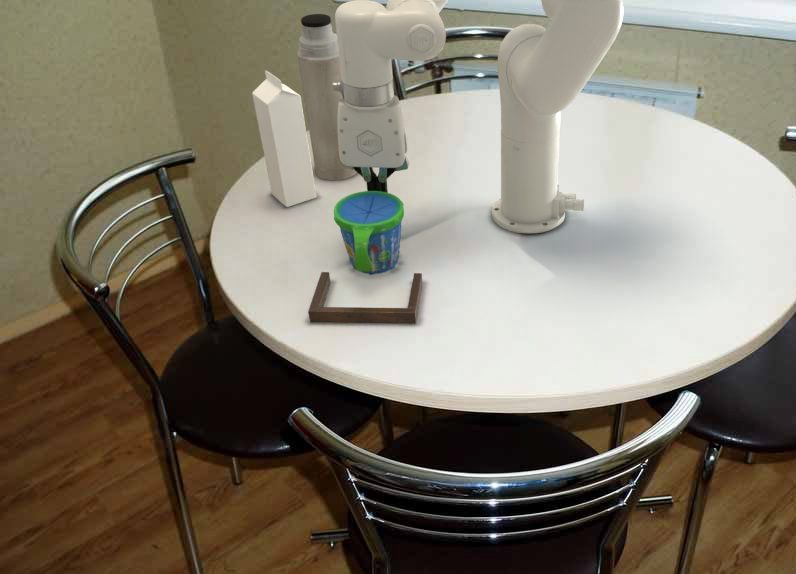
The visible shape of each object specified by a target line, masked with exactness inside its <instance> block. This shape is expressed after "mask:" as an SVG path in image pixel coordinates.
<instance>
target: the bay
mask: <svg viewBox="0 0 796 574" xmlns="http://www.w3.org/2000/svg"><path fill="white" fill-rule="evenodd" d="M331 281H332V280H331V276H330V272H329V271H321V273H320V276H319V278H318V282H317V284H316V287H315V290H314V293H313V296H312V298H311V302H310V305H309V308H308V311H307V313H308V318H309V323H318V324H319V323H321V324H322V323H323V324H328V323H329V324H333V323H334V324H395V325H396V324H399V325H416V324H417V319H418V314H419V307H420V302H421V295H422V290H423V285H424V283H423V274H422V272H414V273H413V277H412V282H411V287H410V295H409V299H408V305H407V307H361V306H360V307H353V306H349V307H348V306H347V307H346V306H324V305H325V302H326V299H327V296H328V292H329V290H330V286H331V283H332V282H331Z"/></svg>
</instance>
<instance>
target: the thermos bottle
mask: <svg viewBox="0 0 796 574" xmlns="http://www.w3.org/2000/svg"><path fill="white" fill-rule="evenodd" d="M300 22H301V25H302V35H301V36H300V37H299V39H298V42H299V44H298V47H299V49H298V51H297V54H296V55H297V56H296V57H297V63H298V68H299V75H300V81H301V82H300V83H301V88H302V94H303V100H304V106H305V113H306V118H307V125H308V133H309V137H310V144H311V151H312V157H313V163H314V169H315V174H316V175H317V177H319V178H320V179H323V180H326V181H327V180H328V181H340V180H341V181H342V180H346V179H349V178H351V177H354V176H355V175H356V174H358V173H357V172H356V171H355V170H351V169H347V168H343V167H342V166H341V161H340V157H339V147H338V103H339V100H340V99H341V98H342V95H341V92H338V91H333V82H338V81H341V79H342V78H341V69H340V59H339V50H338V42H337V33H336V32H333V26H332V24H331V23H332V17H331V16H330V15H328V14H324V13H314V14H313V13H312V14H308V15H304V16H302V17H301V19H300Z"/></svg>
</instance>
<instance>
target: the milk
mask: <svg viewBox="0 0 796 574" xmlns="http://www.w3.org/2000/svg"><path fill="white" fill-rule="evenodd" d="M264 73H265V79H264V81H262V82H261V83H260V84H259V85H258V86H257V87H256V88H255V89H254V90H253V91H252V92H251V94H252V100H253V105H254V111H255V115H256V120H257V126H258V131H259V137H260V140H261V141H260V142H261V146H262V150H263V151H262V152H263V155H264V161H265V166H266V171H267V177H268V181H269V182H268V183H269V186H270V191H271V194H272V196H273V197H274V198H275V199H277V200H278V201H279V202H280V203H281V204H282V205H283V206H284V207H285V208H289V207H291V206H295V205H298V204H300V203H304V202H307V201H311V200H313V199H316V198H317V191H316V184H315V177H314V172H313V166H312V165H313V164H312V160H311V153H310V147H309V141H308V135H307V129H306V122H305V115H304V110H303V103H302V97H301V95H300V94H299V93H297V92H296V91H294V90H293V89H292V88H290V87H289V86H288V85H286V84H284V83H282V80H281V79H280V78H278V77H276V76H275V75H274V74H272V73H271V72H269V71H268V70H266V69H265V71H264Z"/></svg>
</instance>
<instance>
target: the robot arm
mask: <svg viewBox="0 0 796 574" xmlns="http://www.w3.org/2000/svg"><path fill="white" fill-rule="evenodd" d="M448 1H449V0H387V3H386V6H384V5H383V4H382V3H380V2H378V1H373V0H351V1H347V2H344V3H341V4H340V5H339V6H338V7H337V9H336V10H335V15H334V23H335V24H334V25H335V31H336V32H335V34H336V35H337V42H338V50H339V59H340V69H341V78H342V79H341V81H338V82H333V91H338V92H341V95H342V98H341V99H340V100H339V103H338V147H339V157H340V161H341V166H342V167H343V168H347V169H351V170H355V171H356V172H357V173H356V174H358V175H360V176H361V177H362V178H363V181H364V182H366V191H381V192H386V193H389V192H388V190H389V189H388V179H389V178H390V177H391V176H392V175H393V174H394V173H395V172H400V171H405V170H408V169H409V165H410V160H409V158H408V155H407V151H408V143H407V133H406V126H405V121H404V115H403V111H402V106H401V102H400V100H399V99H400V98H399V97H398V96H397V95H395V88H394V76H393V60H397V61H406V62H407V61H408V62H426V61H429V60H432V59H435V58H436V57H437V56H438V55H439V54H440V53H441V52H442V50H443V49H444V47H445V44H446V40H447V32H446V27H445V24H444V22H443V19H442V17H441V16H440V13H441V11H442V10H443V9H444V7H445V6H446V4H447V3H448ZM540 2H541V6H542V9H543V11H544V13H545V15H546V17H547V18H548V19H549V24H548V26H547V27H544V26H542V25H540V24H535V23H524V24H520V25H518V26H516V27H514V28H512V29H511V30H510V31H508V33H507V34H506V35H505V36H504V38H503V40H502V41H501V43H500V45H499V49H498V54H497V78H498V87H499V99H500V101H499V102H500V198H499V199H498V200H496V201H495V203H494V204H493V205H492V208H491V216H492V220H493V221H494V223H496V224H497V226H498V227H499V226H500V228H503V229H505V230H507V231H509V232H514V233H517V234H518V233H520V234H539V233H540V234H541V233H545V232H549V231H551V230H554V229H556V228H557V227H559V226H560V225H561V224H562V223H563V222H564V220H565V217H566V211H575V212H576V211H577V212H579V211H580V212H581V211H584V207H585V200H584V199H583V198H577V193H563V191H560V187H559V186H560V185H559V183H558V182H559V181H558V180H559V177H558V176H559V159H560V139H561V138H560V137H561V123H562V122H561V119H562V118H561V117H562V116H561V115H562V112H563V111H564V110H565V109H567V108H568V107H569V106H570V105H571V104H572V103H573V101H575V100H576V98H577V97H578V95H580V93H581V91H582V90H583V88H584V87H585V86H586V84H587V83H588V82H589V80H590V79H591V77H592V76H593V74H594V73H595V71H596V69H597V68H598V66H599V65H600V64H601V62H602V60H603V59H604V57H605V56H606V55H607V53H608V52H609V50H610V49H611V47H612V45H613V44H614V42H615V40H616V39H617V37H618V34H619V33H620V30H621V27H622V24H623V19H624V15H625V14H624V11H625V9H624V7H625V6H624V1H623V0H541V1H540ZM374 168H375V169H377V168H378V173H376V172H375V171H374Z"/></svg>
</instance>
